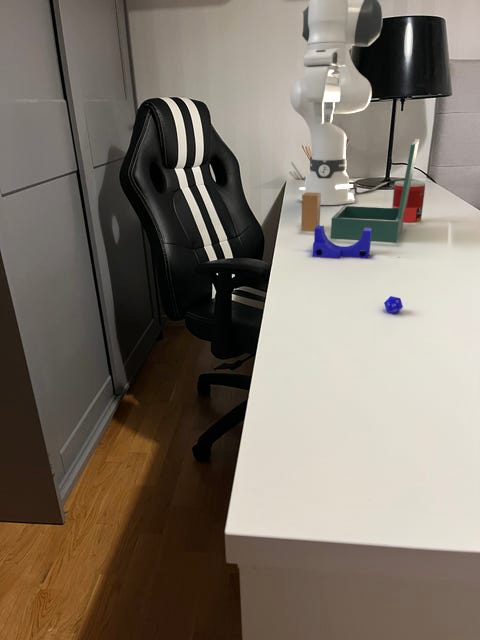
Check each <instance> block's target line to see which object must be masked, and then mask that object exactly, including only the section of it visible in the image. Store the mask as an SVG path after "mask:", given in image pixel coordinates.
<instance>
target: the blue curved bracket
mask: <svg viewBox="0 0 480 640" xmlns="http://www.w3.org/2000/svg"><path fill="white" fill-rule="evenodd" d="M371 231H372V228H364V230H363V235H362V237H361V239H360V240H357V242H355V243H353V244H351V245H347V246H341V245H337V244H335V243H334V242H332V241H331V240H330V239H329V238H328V237H327V235H326V232H325V226H324V225H320V226H316V228H315V231H314V235H313V237H314V239H313V242H312V257H313V258H327V259H341V258H356V259H369V258H370V252H371V242H372V241H371ZM362 251H364V252H365V253H361V252H362Z"/></svg>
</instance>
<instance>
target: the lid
mask: <svg viewBox="0 0 480 640" xmlns="http://www.w3.org/2000/svg"><path fill="white" fill-rule="evenodd" d="M419 144H420V139H418V138H415V140H414V141H412V143H411V145H410V148H409V154H408V160H407V164H406V170H405V175H404V179H405V180H404V185H403V191H402V196H401V201H400V206H399V212H398V217H397V219H400V220H401V218H402V216H403V213H404V211H405V208H406V205H407V200H408V195H409V190H410V185H411V180H413V175H414V170H415V165H416V164H415V163H416V159H417V154H418V149H419Z"/></svg>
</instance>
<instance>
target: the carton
mask: <svg viewBox="0 0 480 640" xmlns="http://www.w3.org/2000/svg"><path fill="white" fill-rule="evenodd" d="M301 197H302V201H301V223H300V224H301V225H300V226H301V229H300V231H301V232H315V228H316V226H321V205H320V203H321V193H309V192H306V193H303V194H302V195H301Z"/></svg>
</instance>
